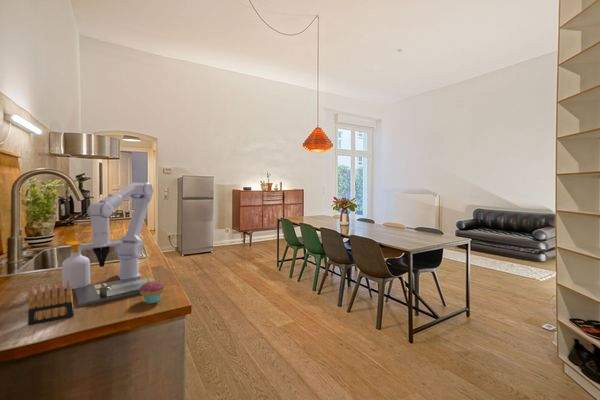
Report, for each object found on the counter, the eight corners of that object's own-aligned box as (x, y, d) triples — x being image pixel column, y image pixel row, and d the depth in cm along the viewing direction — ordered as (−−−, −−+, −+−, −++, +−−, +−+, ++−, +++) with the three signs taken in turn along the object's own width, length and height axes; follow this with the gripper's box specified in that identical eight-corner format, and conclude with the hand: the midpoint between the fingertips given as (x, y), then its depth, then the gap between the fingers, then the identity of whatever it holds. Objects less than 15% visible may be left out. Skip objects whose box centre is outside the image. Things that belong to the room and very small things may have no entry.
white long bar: (150, 283, 117) (150, 276, 117) (153, 286, 115) (153, 279, 114) (98, 295, 105) (98, 287, 105) (100, 298, 102) (100, 290, 102)
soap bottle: (75, 290, 112) (73, 229, 111) (56, 288, 114) (54, 228, 113) (95, 283, 121) (94, 225, 120) (78, 281, 123) (76, 224, 121)
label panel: (74, 291, 112) (74, 287, 112) (137, 279, 126) (137, 276, 126) (78, 307, 98) (78, 302, 98) (148, 291, 113) (148, 288, 113)
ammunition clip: (73, 314, 93) (72, 278, 92) (73, 317, 91) (72, 280, 91) (29, 323, 87) (27, 285, 86) (27, 326, 85) (26, 287, 85)
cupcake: (136, 306, 100) (135, 273, 99) (142, 297, 108) (142, 266, 107) (163, 304, 102) (162, 271, 101) (167, 295, 110) (167, 264, 109)
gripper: (78, 236, 105) (79, 272, 106) (123, 232, 115) (124, 265, 116) (77, 233, 111) (78, 267, 112) (120, 229, 120) (121, 261, 121)
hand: (101, 266), depth 114 cm, fingers closed
